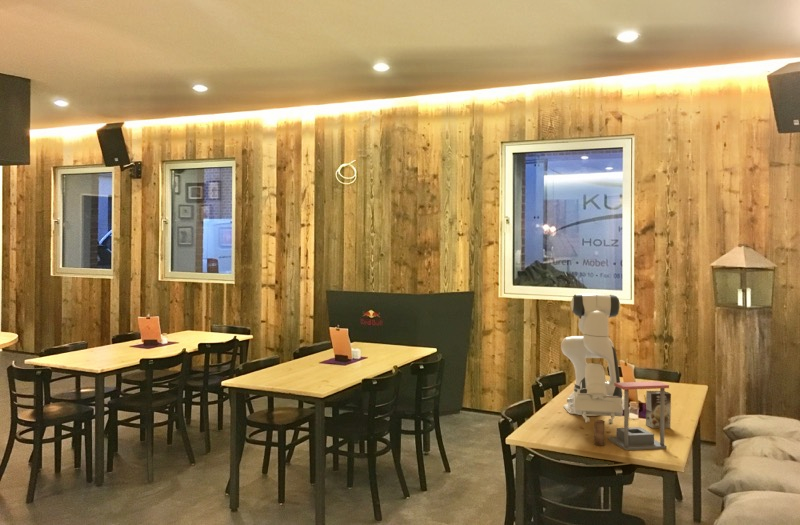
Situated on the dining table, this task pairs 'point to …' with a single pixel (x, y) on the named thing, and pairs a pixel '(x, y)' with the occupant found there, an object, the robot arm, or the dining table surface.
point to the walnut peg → (599, 432)
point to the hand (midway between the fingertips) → (599, 423)
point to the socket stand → (636, 435)
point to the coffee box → (657, 409)
